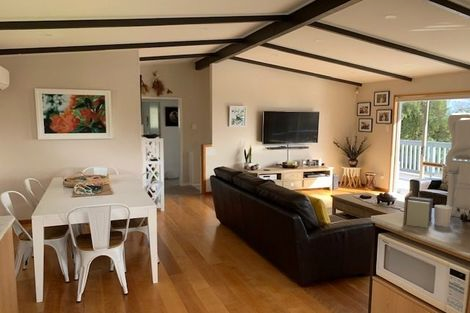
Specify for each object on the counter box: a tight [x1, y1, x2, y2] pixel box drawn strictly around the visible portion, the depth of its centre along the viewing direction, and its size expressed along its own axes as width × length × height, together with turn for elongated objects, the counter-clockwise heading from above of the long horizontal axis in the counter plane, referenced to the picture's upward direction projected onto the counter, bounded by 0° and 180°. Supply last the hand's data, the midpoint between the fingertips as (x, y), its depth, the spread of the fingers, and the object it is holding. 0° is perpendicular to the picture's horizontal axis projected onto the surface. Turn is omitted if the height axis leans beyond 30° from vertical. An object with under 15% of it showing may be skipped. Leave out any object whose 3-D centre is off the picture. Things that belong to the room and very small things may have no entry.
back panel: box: [402, 190, 413, 225], centre depth 192 cm, size 19×1×15 cm, turn 145°
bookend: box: [412, 196, 433, 222], centre depth 196 cm, size 6×10×12 cm, turn 55°
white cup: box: [433, 204, 452, 228], centre depth 184 cm, size 8×8×10 cm
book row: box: [405, 196, 430, 229], centre depth 183 cm, size 6×10×14 cm, turn 55°
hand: (463, 221), depth 178 cm, fingers closed
